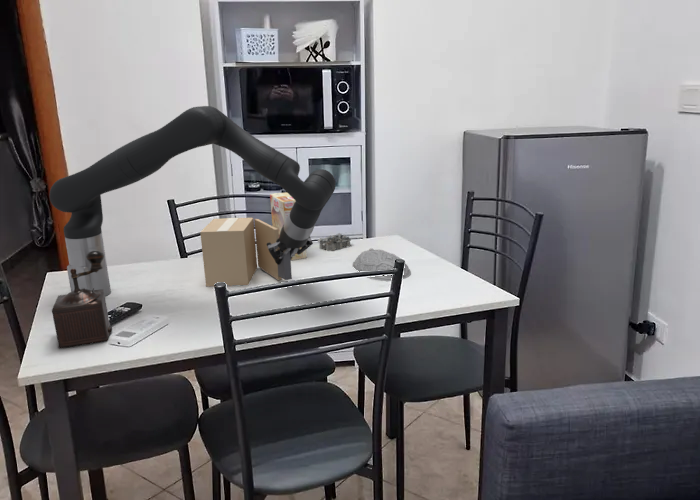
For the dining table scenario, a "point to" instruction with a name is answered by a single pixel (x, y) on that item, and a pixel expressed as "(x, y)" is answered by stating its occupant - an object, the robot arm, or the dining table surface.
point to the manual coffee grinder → (82, 311)
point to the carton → (229, 251)
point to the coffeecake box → (282, 214)
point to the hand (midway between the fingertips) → (281, 260)
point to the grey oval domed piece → (378, 263)
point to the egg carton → (334, 242)
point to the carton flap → (265, 259)
